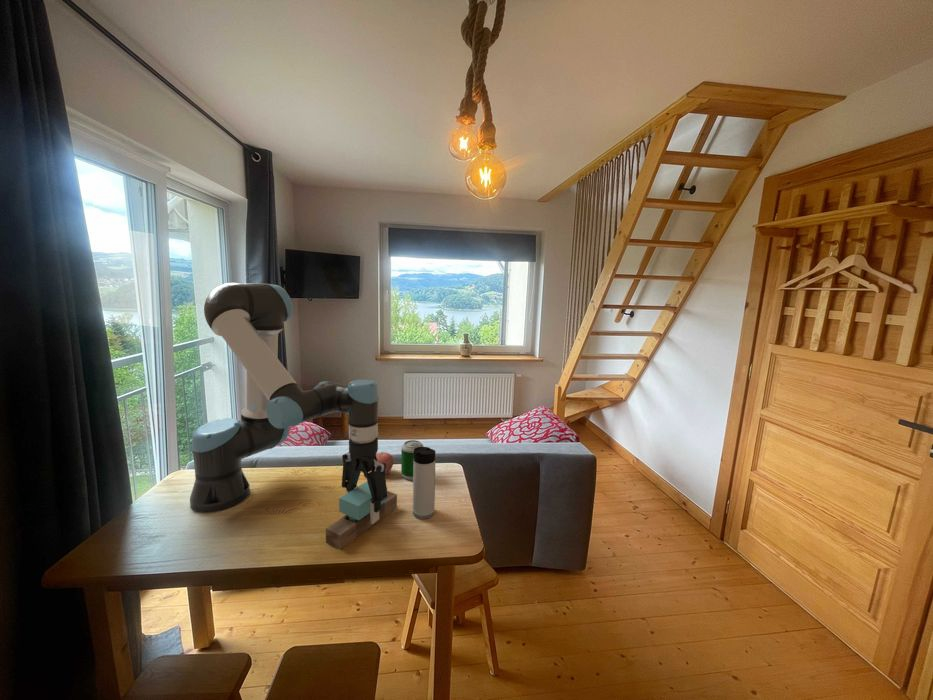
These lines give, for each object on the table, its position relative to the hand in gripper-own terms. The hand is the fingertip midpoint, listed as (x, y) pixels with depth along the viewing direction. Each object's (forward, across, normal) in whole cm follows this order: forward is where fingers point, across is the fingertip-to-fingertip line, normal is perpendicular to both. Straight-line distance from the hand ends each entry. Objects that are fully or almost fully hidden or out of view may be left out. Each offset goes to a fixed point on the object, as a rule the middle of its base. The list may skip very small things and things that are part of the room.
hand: (364, 516), depth 104 cm
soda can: (+2, -5, +28) cm, 29 cm away
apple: (+2, -15, +24) cm, 29 cm away
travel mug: (+2, +11, +12) cm, 17 cm away
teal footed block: (0, 0, 0) cm, 0 cm away
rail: (+2, 0, 0) cm, 2 cm away
